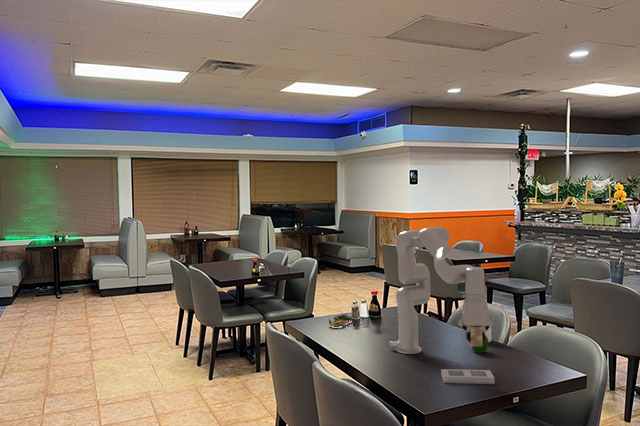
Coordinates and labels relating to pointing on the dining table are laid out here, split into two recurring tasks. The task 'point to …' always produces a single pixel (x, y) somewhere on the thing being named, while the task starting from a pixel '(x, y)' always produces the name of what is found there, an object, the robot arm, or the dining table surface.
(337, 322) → the plated dish
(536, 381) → the dining table surface
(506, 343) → the dining table surface
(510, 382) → the dining table surface
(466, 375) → the rail
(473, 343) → the beech block
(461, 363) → the dining table surface
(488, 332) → the jar
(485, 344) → the bell pepper
